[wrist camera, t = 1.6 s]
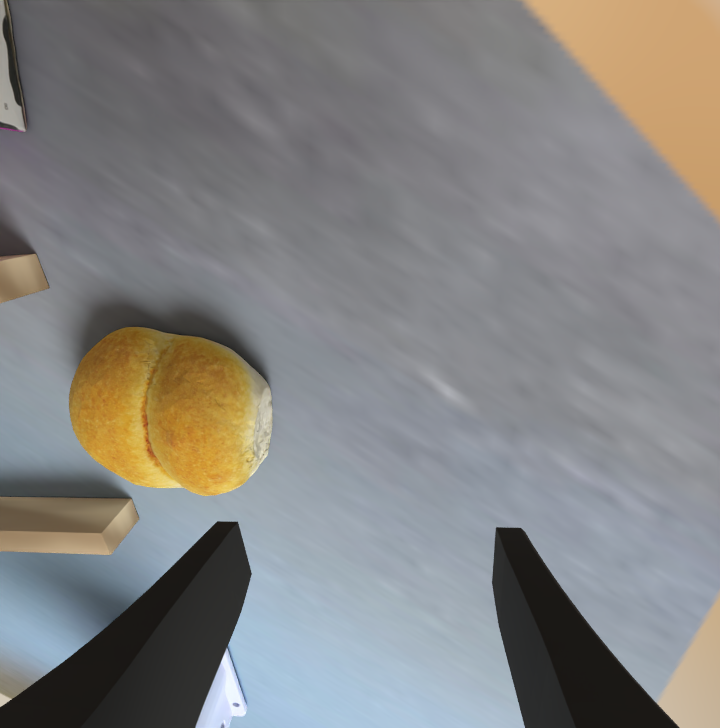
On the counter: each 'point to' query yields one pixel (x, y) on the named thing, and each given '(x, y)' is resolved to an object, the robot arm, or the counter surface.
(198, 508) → the counter surface
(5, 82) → the candy bar box
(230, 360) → the bread roll
